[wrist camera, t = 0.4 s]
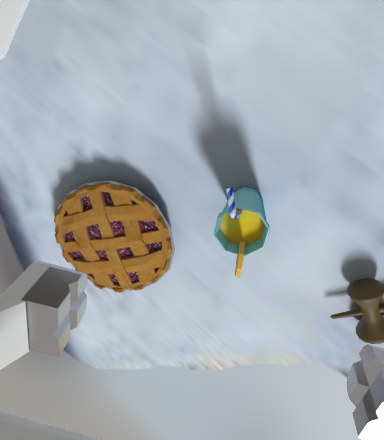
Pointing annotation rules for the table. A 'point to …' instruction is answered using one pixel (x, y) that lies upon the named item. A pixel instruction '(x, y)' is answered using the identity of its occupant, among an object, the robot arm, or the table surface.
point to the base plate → (10, 21)
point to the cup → (242, 224)
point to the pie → (114, 235)
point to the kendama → (367, 309)
